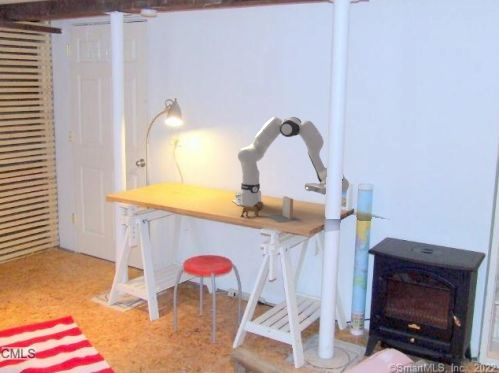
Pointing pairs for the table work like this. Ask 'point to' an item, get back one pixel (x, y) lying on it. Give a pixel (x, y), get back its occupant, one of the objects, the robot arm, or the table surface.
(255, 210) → the lion figurine
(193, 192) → the table surface
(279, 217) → the rubber mat
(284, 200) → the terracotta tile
